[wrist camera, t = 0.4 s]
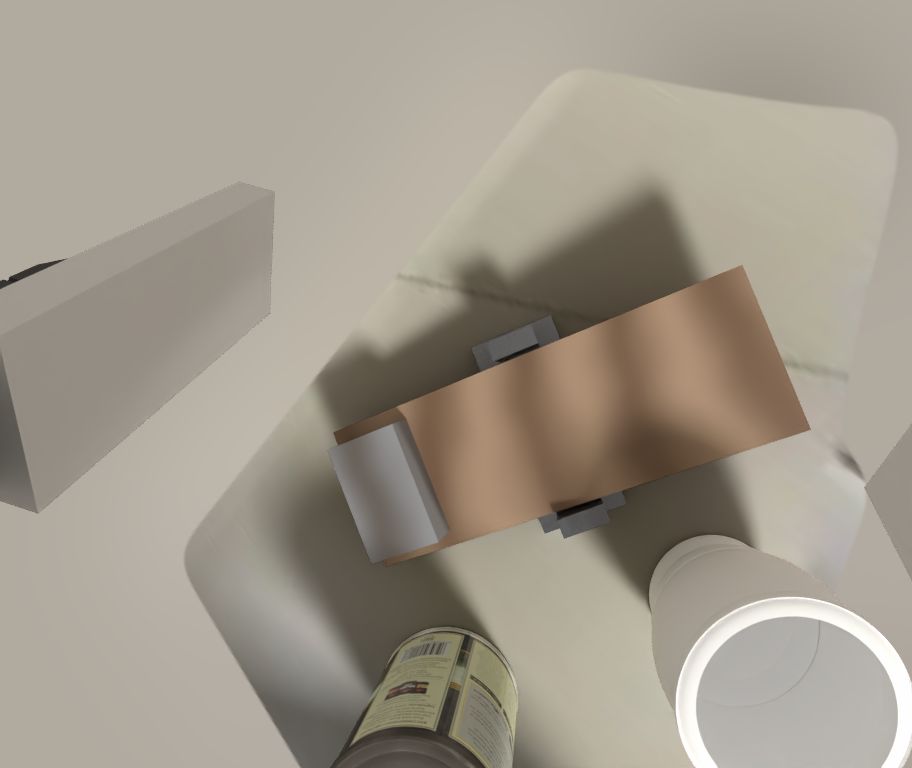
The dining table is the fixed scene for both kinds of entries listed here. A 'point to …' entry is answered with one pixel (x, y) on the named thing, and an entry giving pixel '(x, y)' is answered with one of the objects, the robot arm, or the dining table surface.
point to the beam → (570, 422)
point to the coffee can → (438, 707)
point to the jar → (772, 664)
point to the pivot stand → (513, 347)
